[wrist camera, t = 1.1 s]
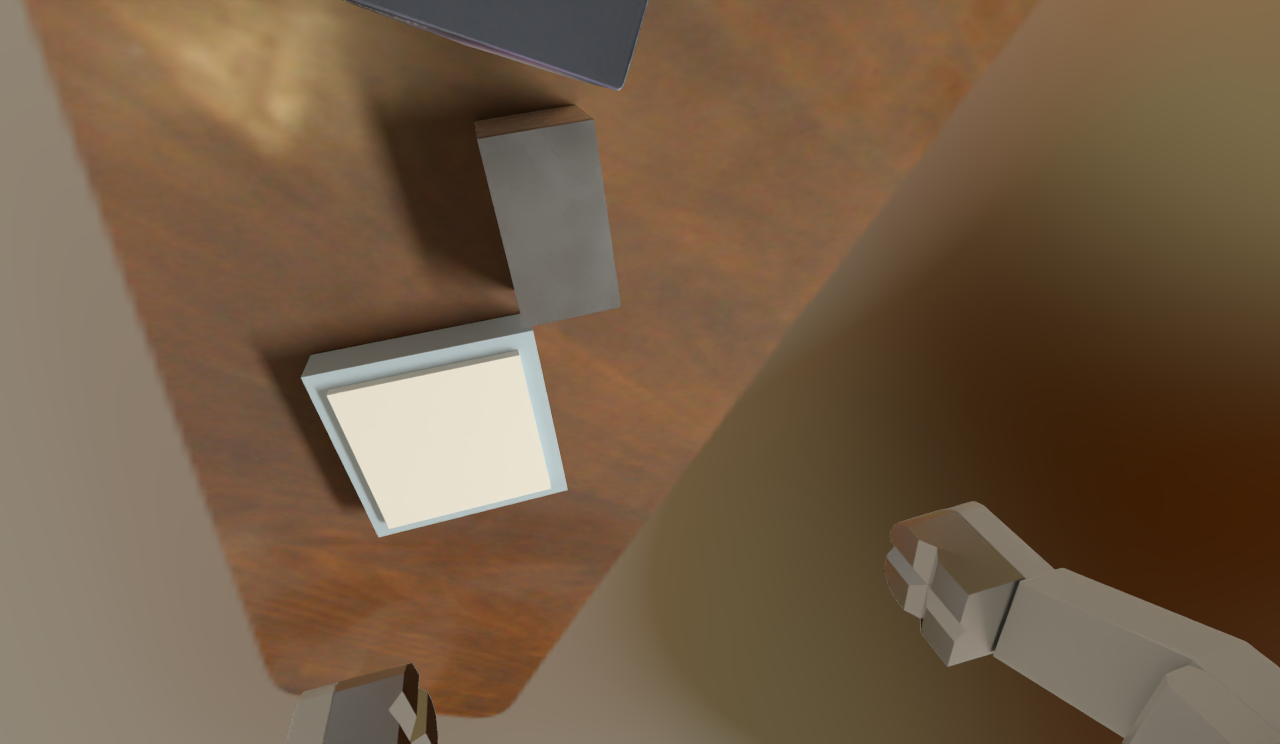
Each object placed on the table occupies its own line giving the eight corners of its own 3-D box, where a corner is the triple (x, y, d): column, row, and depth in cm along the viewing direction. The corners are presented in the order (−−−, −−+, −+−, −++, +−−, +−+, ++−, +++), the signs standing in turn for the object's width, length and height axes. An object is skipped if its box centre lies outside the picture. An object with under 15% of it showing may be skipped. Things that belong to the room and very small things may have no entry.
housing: (474, 120, 29) (477, 139, 24) (575, 104, 29) (594, 119, 25) (515, 289, 33) (524, 328, 29) (601, 271, 34) (620, 306, 30)
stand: (310, 354, 32) (298, 383, 30) (528, 311, 34) (533, 335, 32) (382, 510, 39) (377, 544, 36) (562, 466, 41) (569, 496, 38)
